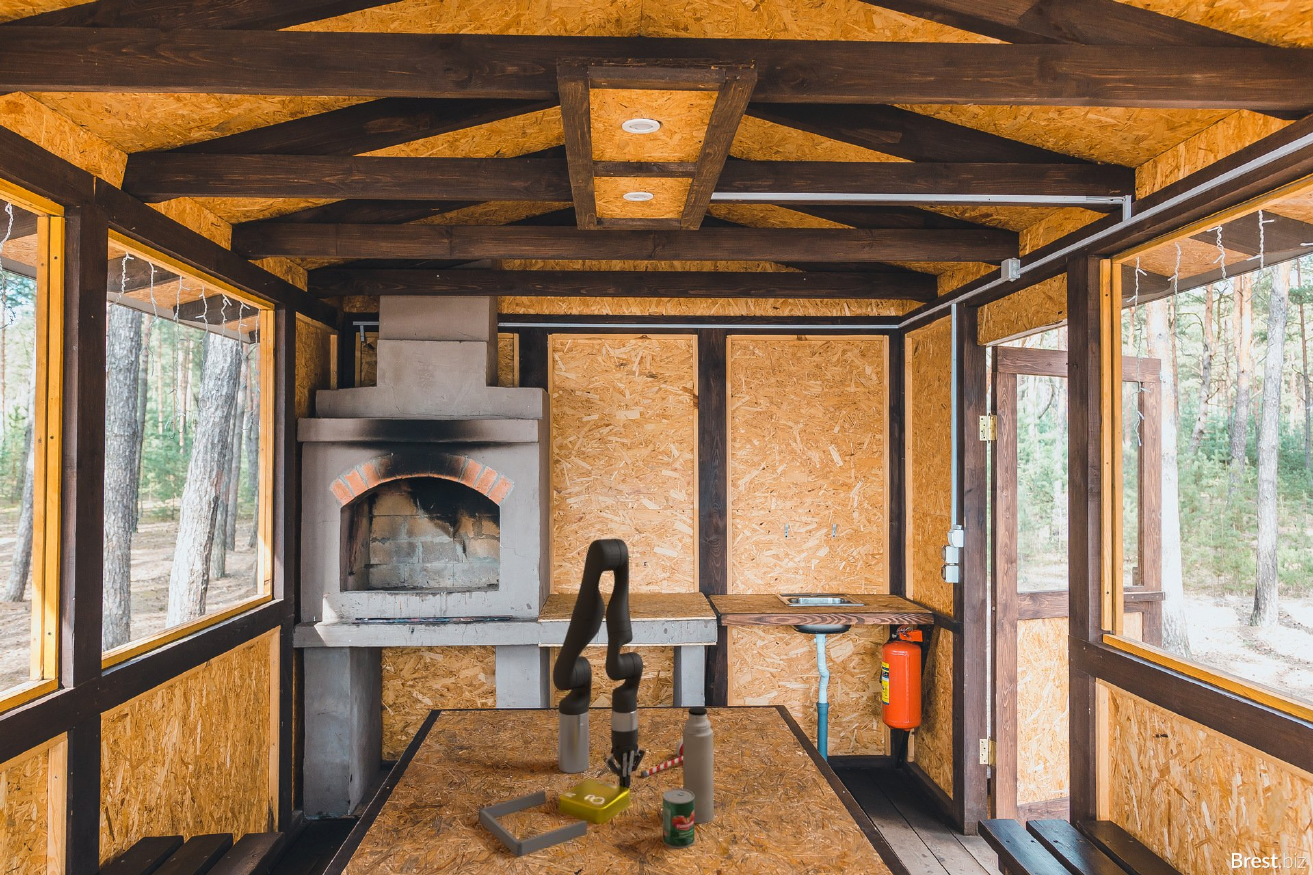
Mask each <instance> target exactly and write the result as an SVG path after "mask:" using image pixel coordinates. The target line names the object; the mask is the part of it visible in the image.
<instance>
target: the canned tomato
mask: <svg viewBox="0 0 1313 875" xmlns="http://www.w3.org/2000/svg"><path fill="white" fill-rule="evenodd" d="M695 824H696V823H694V793H693V792H691V791H689V790H686V789H683V788H672V789H668V790H666V791H664V793H663V794H662V843H663V844H664V845H665V846H666V847H669V848H671V849H672V848H673V849H687V848H690V847H692V845H694V843H695V841H696V840H695V831H696V830H695Z"/></svg>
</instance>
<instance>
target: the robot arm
mask: <svg viewBox="0 0 1313 875" xmlns="http://www.w3.org/2000/svg"><path fill="white" fill-rule="evenodd" d="M585 557H586V558H585V560H584V561H585V562H584V566H583V574H582V578H581V583H580V586H579V591H578V593H577V598H576V601H575V604H574V607H573V609H572V613H571V617H570V620H569V621H570V622H569V626H568V628H567V632H566V635H565V638H564V640H563V644H562V645H561V649H560V650H559V653H558V656H557V658H556V661H555V664H554V666H553V671H552V682H553V684H554V687H555V688H556V690H559V691H561V692H563V691H564V692H566V691H569V693H568V694H567V695H566V696H564V697H563V698H562V699H561V700H560V701H559V702H558V735H557V765H558V769H559V771H561V772H563V773H569V774H570V773H571V774H576V773H581V772H585V771H586V770H588V769H589V768H590V703H591V700H592V699H591V698H592V683H593V679H592V678H593V671H592V665H591V662H590V660H589V659H588V658H587V657H585V656H583V655H581V653H582V652H583V651H584V649H586V648H587V646H588V645H589V644H590V643H591V642H592V641H593V639H594V638H595V637H596V635H597V634H598V633H599V631H600V629H601V627H602V623H603V620H604V618H605V626H606V633H607V648H606V658H605V663H604V669H605V673H606V676H607V677H608V679H610V680H611V681H613V682H618V681H623V680H624V682H623V683H622V684H621V685H619V686H616V687H614V689H613V690H612V693H611V716H610V724H611V725H610V728H611V729H610V742H611V749H610V755H609V756H608V757H605V758H604V759H603V761H604V764H606V766H607V767H608V768H609V770H610V771H611V772H612V773H613V774H614V775H616V776H618V777H619V780H618V781H619V785H618V786H622V787H626V788H628V789H630V787H631V785H632V784H631V775H632V773H633V772H636V771H637V769H639V768H638V767H639V765H640V764H641V762H642V760H643V758H644V756H645V754H646V752H645V750H643V749H641V748H639V744H638V742H639V714H638V693H639V692H638V691H639V689H640V683H641V680H642V676H643V671H644V661H643V658H642V657H641V655H640V654H639V653H638V652H636V651H631V652H624V653H621V650H622V648H623V646H626V645H627V644H629V643H631V642H632V641H633V638H634V636H633V628H632V621H631V615H630V614H631V613H630V602H629V600H630V594H629V593H630V590H629V589H630V555H629V549H628V545H627V543H626V542H625V541H624V540H623V539H620V538H603V539H595V540H593V541H592V542H591V543H590V544H589V547H588V549H587V551H586V556H585ZM604 572H612V573H613V579H614V580H613V582H614V583H613V588H612V592H611V596H610V599H609V601H608V603H607V606H605V602H604V598H603V597H602V594H601V591H600V586H599V585H600V581H601V577H602V574H603V573H604Z"/></svg>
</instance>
